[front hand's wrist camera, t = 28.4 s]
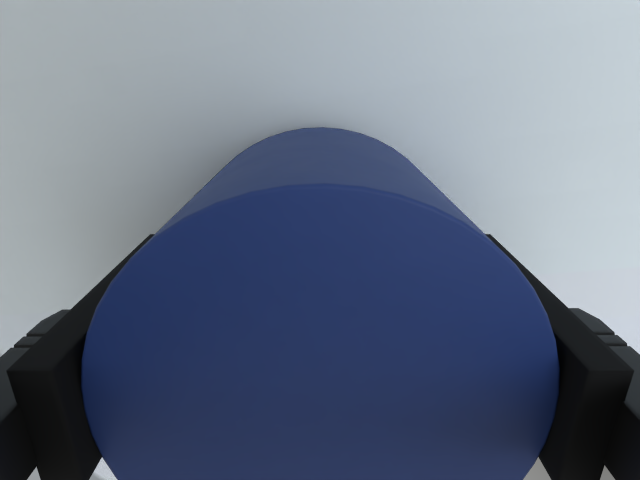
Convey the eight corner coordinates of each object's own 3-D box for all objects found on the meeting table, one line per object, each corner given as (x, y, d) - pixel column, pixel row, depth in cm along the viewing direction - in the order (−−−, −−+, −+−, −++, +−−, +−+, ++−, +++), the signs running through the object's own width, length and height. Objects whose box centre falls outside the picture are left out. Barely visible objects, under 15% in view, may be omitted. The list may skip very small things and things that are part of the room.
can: (151, 296, 16) (16, 474, 9) (269, 69, 13) (209, 65, 6) (358, 397, 17) (383, 616, 10) (501, 216, 15) (669, 348, 8)
